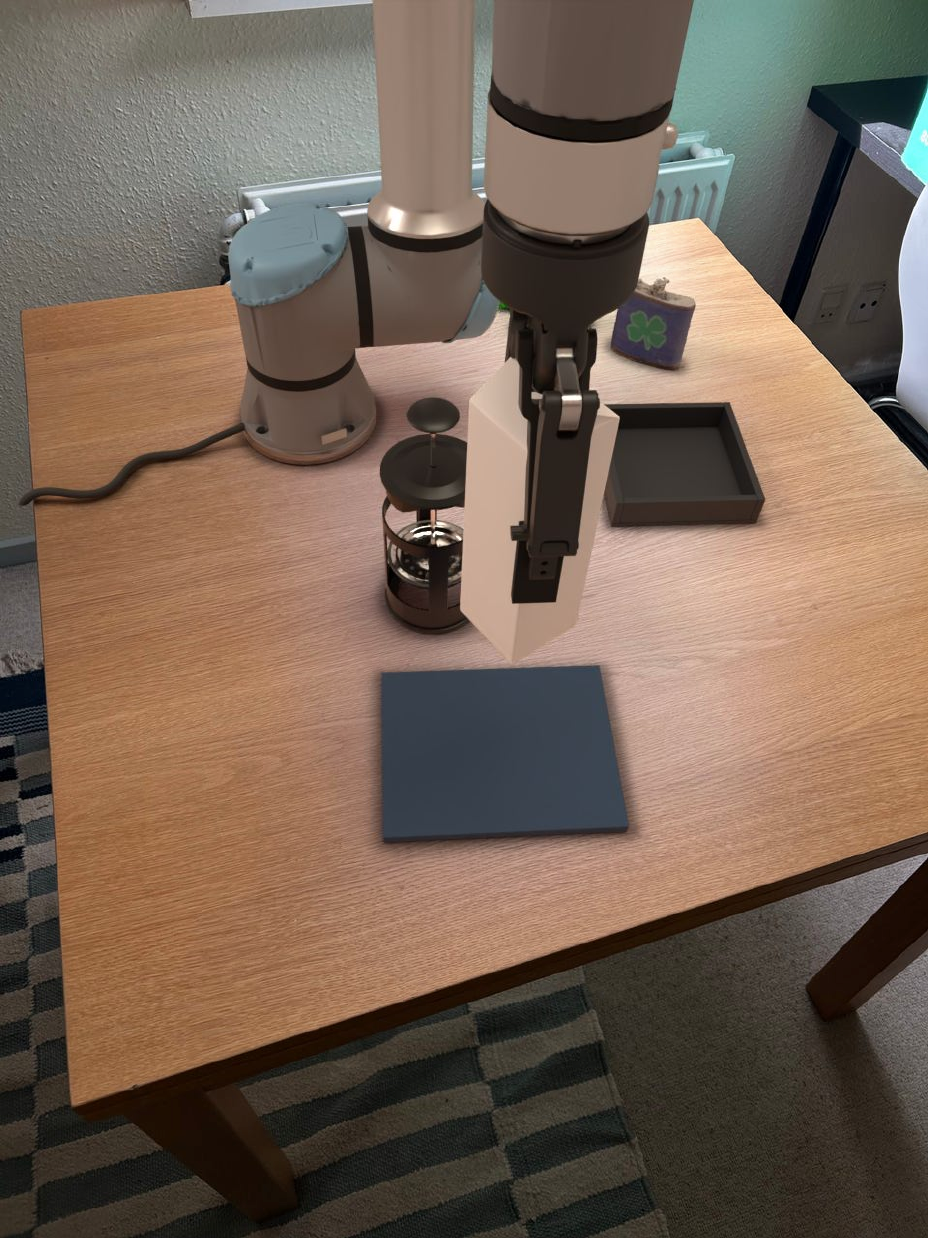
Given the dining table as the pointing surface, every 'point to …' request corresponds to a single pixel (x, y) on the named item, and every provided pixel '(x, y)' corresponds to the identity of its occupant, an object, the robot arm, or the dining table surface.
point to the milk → (501, 505)
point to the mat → (498, 754)
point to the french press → (425, 517)
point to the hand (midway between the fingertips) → (525, 544)
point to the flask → (653, 325)
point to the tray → (680, 467)
